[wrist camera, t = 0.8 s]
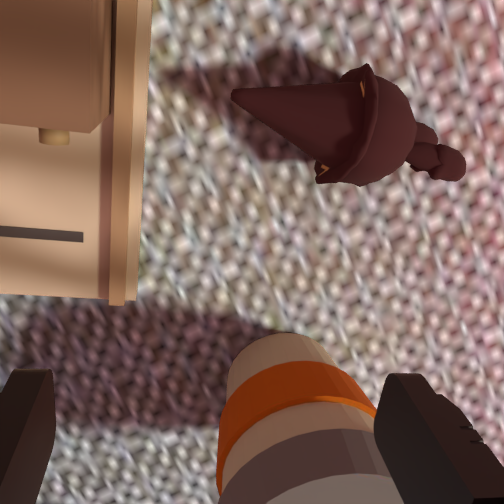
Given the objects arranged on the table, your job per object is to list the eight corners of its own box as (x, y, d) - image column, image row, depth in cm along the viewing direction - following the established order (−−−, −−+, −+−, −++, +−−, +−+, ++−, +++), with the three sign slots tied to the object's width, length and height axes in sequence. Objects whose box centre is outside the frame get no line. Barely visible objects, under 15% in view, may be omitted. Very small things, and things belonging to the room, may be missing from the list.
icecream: (217, 183, 25) (441, 233, 30) (263, 45, 21) (515, 127, 26) (208, 128, 31) (399, 178, 35) (243, 9, 27) (455, 83, 31)
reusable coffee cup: (318, 286, 36) (402, 431, 23) (373, 395, 42) (467, 565, 28) (176, 358, 37) (174, 539, 23) (247, 456, 42) (278, 650, 29)
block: (33, -57, 24) (-20, -95, 18) (114, -43, 25) (91, -73, 18) (39, 122, 27) (-4, 145, 21) (110, 130, 28) (89, 155, 22)
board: (-128, -93, 24) (-157, -107, 22) (154, -42, 26) (152, -49, 24) (-76, 278, 32) (-94, 294, 30) (137, 290, 34) (134, 306, 32)
